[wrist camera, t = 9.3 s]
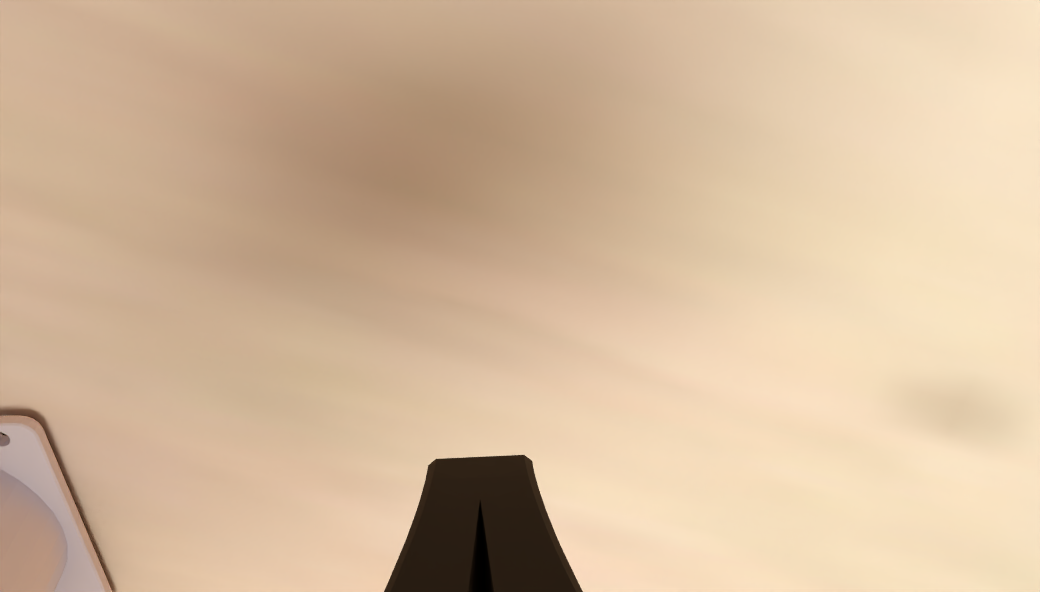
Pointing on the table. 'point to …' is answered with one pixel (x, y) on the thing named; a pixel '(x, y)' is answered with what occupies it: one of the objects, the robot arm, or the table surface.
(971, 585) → the table surface
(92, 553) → the robot arm
